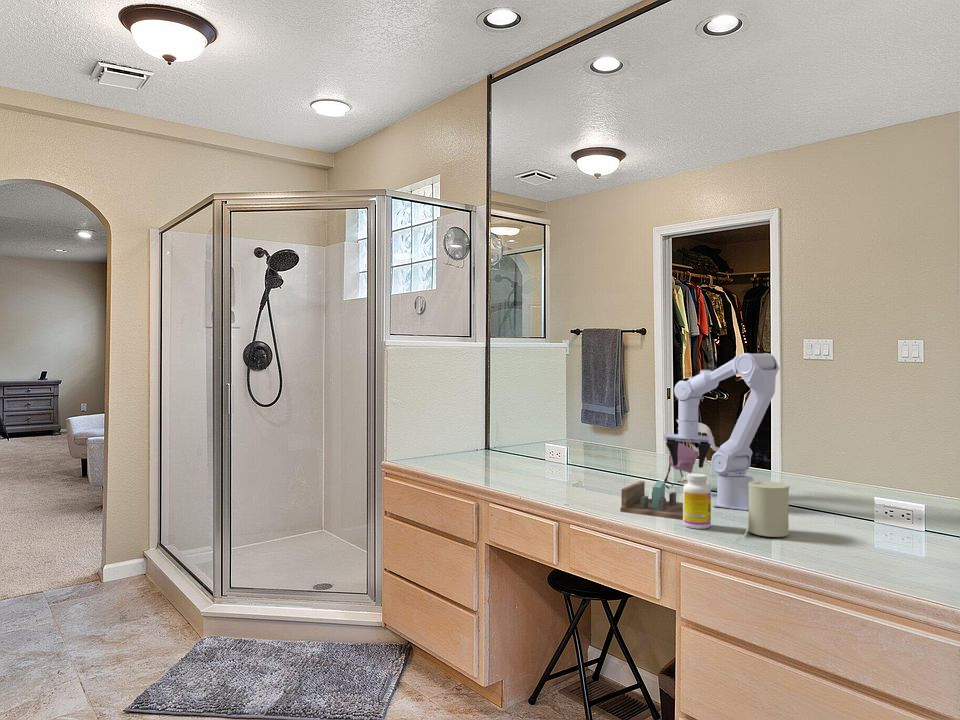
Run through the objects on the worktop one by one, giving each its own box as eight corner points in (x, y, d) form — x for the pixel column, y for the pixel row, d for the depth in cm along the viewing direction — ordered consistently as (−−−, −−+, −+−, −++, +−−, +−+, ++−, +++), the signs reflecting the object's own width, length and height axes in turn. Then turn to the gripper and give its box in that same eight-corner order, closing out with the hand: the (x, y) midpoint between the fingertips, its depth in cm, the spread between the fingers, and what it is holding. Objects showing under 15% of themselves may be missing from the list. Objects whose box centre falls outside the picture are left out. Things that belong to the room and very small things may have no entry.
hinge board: (703, 508, 191) (703, 487, 191) (686, 520, 178) (686, 496, 178) (640, 501, 201) (640, 480, 201) (620, 511, 187) (620, 489, 187)
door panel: (664, 502, 194) (664, 481, 194) (660, 509, 185) (660, 487, 185) (657, 501, 195) (657, 480, 195) (652, 509, 186) (652, 487, 186)
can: (754, 525, 172) (755, 477, 172) (793, 531, 167) (794, 482, 167) (742, 532, 165) (742, 482, 165) (782, 539, 159) (783, 487, 159)
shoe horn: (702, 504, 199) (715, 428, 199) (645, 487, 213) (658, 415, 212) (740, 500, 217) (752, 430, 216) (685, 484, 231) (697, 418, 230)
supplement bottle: (712, 530, 167) (712, 477, 167) (684, 528, 169) (684, 476, 169) (708, 523, 174) (709, 473, 174) (681, 522, 175) (681, 472, 175)
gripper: (716, 421, 206) (716, 466, 206) (668, 418, 214) (668, 462, 214) (710, 423, 200) (710, 469, 200) (661, 420, 208) (661, 465, 208)
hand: (688, 466), depth 206 cm, fingers open, 7 cm apart
